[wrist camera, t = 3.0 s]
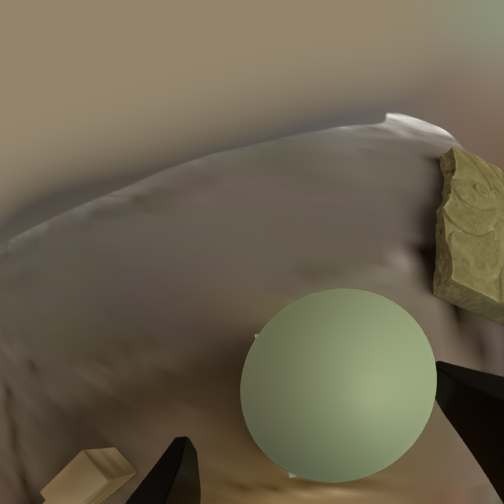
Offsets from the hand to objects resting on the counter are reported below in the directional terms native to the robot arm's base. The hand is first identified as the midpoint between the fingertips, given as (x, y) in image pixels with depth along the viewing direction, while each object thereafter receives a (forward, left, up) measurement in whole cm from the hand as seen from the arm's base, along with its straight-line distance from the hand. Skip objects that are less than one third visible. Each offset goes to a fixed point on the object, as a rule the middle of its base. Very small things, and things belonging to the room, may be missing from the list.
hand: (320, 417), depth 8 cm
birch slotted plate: (+1, +21, -8) cm, 22 cm away
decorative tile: (-3, -26, -9) cm, 28 cm away
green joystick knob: (+1, 0, -8) cm, 9 cm away
